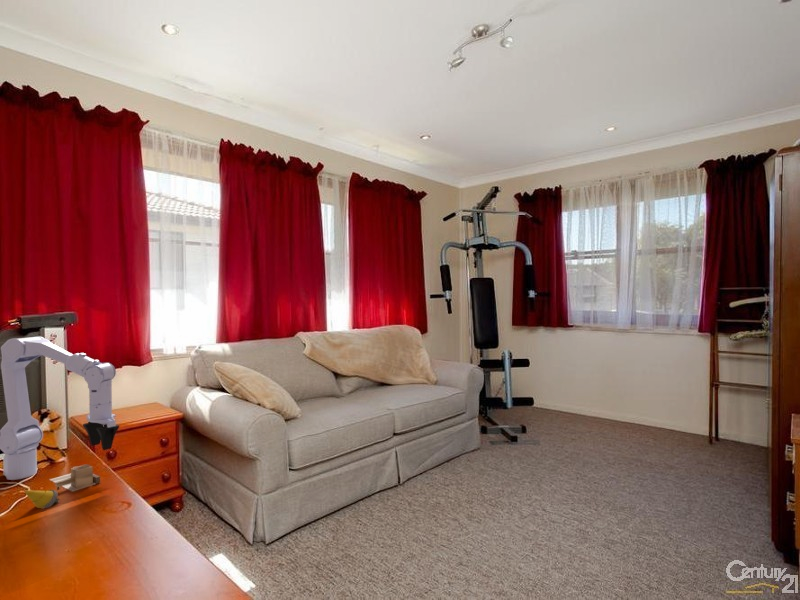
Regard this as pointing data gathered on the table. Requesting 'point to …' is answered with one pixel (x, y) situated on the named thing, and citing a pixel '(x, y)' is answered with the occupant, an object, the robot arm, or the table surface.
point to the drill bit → (42, 498)
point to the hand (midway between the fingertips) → (101, 447)
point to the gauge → (78, 477)
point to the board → (95, 481)
